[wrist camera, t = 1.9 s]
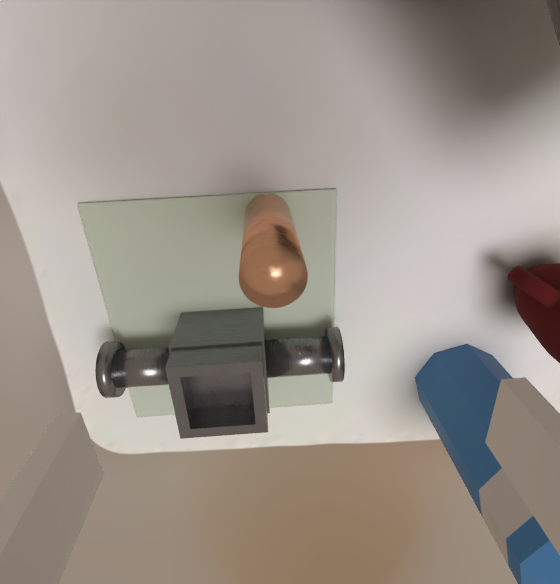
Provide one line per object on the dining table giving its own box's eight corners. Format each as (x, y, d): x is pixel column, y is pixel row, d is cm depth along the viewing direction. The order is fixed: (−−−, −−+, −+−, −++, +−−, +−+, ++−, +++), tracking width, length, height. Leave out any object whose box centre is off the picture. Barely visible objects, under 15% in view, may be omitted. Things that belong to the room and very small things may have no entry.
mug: (457, 296, 39) (515, 355, 30) (505, 223, 36) (587, 265, 27) (539, 327, 41) (616, 391, 32) (592, 261, 38) (693, 311, 29)
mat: (78, 202, 33) (76, 204, 33) (335, 188, 34) (336, 189, 33) (137, 414, 44) (136, 417, 44) (331, 400, 44) (332, 403, 44)
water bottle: (472, 328, 41) (729, 605, 19) (510, 380, 44) (765, 665, 22) (398, 376, 43) (547, 673, 21) (439, 422, 47) (605, 717, 24)
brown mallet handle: (243, 194, 33) (235, 247, 21) (290, 192, 33) (307, 242, 22) (247, 239, 35) (241, 310, 23) (291, 236, 35) (308, 305, 23)
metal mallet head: (108, 316, 38) (71, 372, 30) (334, 302, 38) (353, 353, 31) (132, 402, 43) (105, 468, 35) (332, 388, 43) (348, 450, 35)
